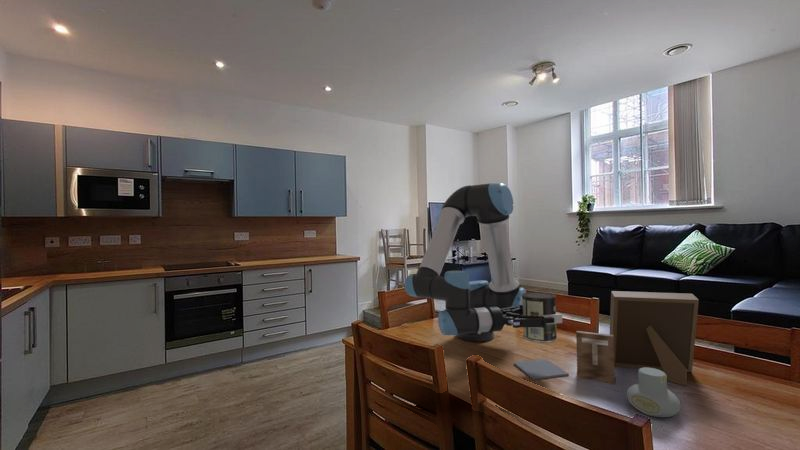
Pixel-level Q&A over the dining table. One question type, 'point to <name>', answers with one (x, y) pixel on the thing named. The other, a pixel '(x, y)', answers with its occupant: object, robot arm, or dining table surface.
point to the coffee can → (537, 307)
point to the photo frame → (654, 331)
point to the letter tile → (595, 356)
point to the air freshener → (653, 394)
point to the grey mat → (540, 369)
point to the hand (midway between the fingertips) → (551, 313)
